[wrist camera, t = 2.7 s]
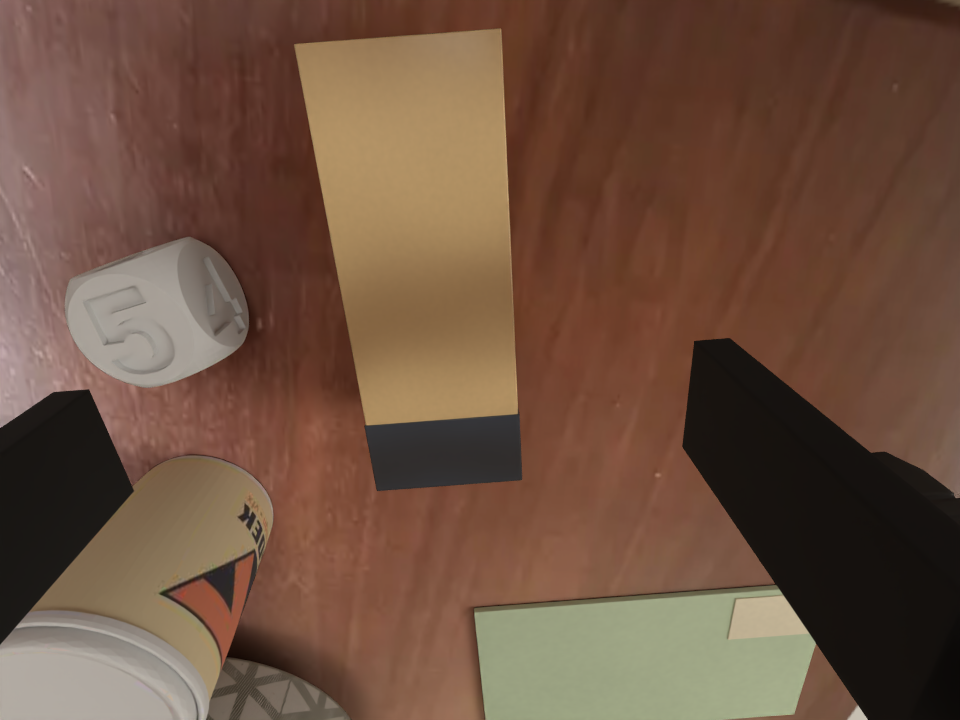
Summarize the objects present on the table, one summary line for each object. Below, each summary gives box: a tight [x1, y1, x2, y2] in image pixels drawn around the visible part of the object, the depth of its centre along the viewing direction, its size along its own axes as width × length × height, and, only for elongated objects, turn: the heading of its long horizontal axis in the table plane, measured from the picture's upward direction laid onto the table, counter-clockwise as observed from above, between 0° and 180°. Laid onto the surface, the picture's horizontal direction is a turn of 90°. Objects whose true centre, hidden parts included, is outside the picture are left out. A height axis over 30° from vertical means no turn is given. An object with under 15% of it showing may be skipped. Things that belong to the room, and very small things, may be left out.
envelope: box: [474, 585, 816, 720], centre depth 38 cm, size 24×14×1 cm, turn 94°
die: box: [65, 237, 249, 388], centre depth 23 cm, size 5×5×5 cm
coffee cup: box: [0, 455, 273, 720], centre depth 25 cm, size 9×9×12 cm
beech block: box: [294, 28, 522, 491], centre depth 21 cm, size 16×6×7 cm, turn 4°
